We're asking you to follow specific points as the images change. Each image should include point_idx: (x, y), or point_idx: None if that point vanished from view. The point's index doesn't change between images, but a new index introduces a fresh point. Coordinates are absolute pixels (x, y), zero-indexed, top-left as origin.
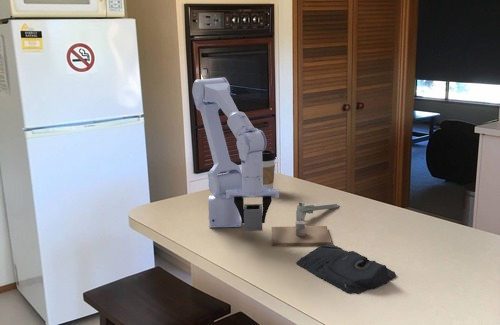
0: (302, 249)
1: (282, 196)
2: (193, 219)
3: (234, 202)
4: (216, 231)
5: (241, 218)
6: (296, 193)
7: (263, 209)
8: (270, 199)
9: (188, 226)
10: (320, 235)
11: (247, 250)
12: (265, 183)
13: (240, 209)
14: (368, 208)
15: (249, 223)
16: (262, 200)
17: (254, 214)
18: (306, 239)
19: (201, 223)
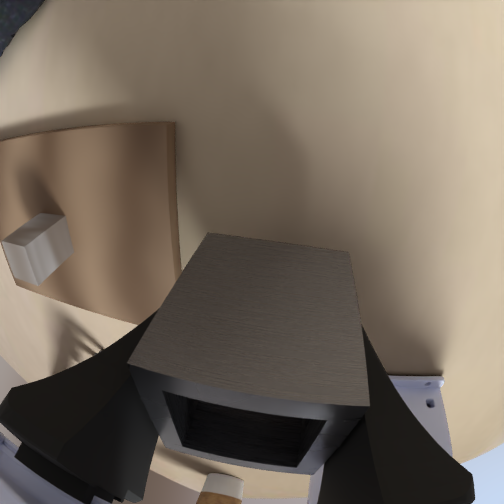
0: (48, 90)
1: (184, 460)
2: (450, 419)
3: (473, 491)
4: (434, 348)
5: (370, 347)
6: (157, 456)
7: (120, 373)
8: (11, 432)
9: (489, 383)
10: (5, 209)
11: (336, 72)
12: (217, 495)
13: (394, 422)
14: (9, 352)
15: (305, 283)
16: (63, 466)
17: (235, 343)
18: (29, 171)
19: (446, 401)
